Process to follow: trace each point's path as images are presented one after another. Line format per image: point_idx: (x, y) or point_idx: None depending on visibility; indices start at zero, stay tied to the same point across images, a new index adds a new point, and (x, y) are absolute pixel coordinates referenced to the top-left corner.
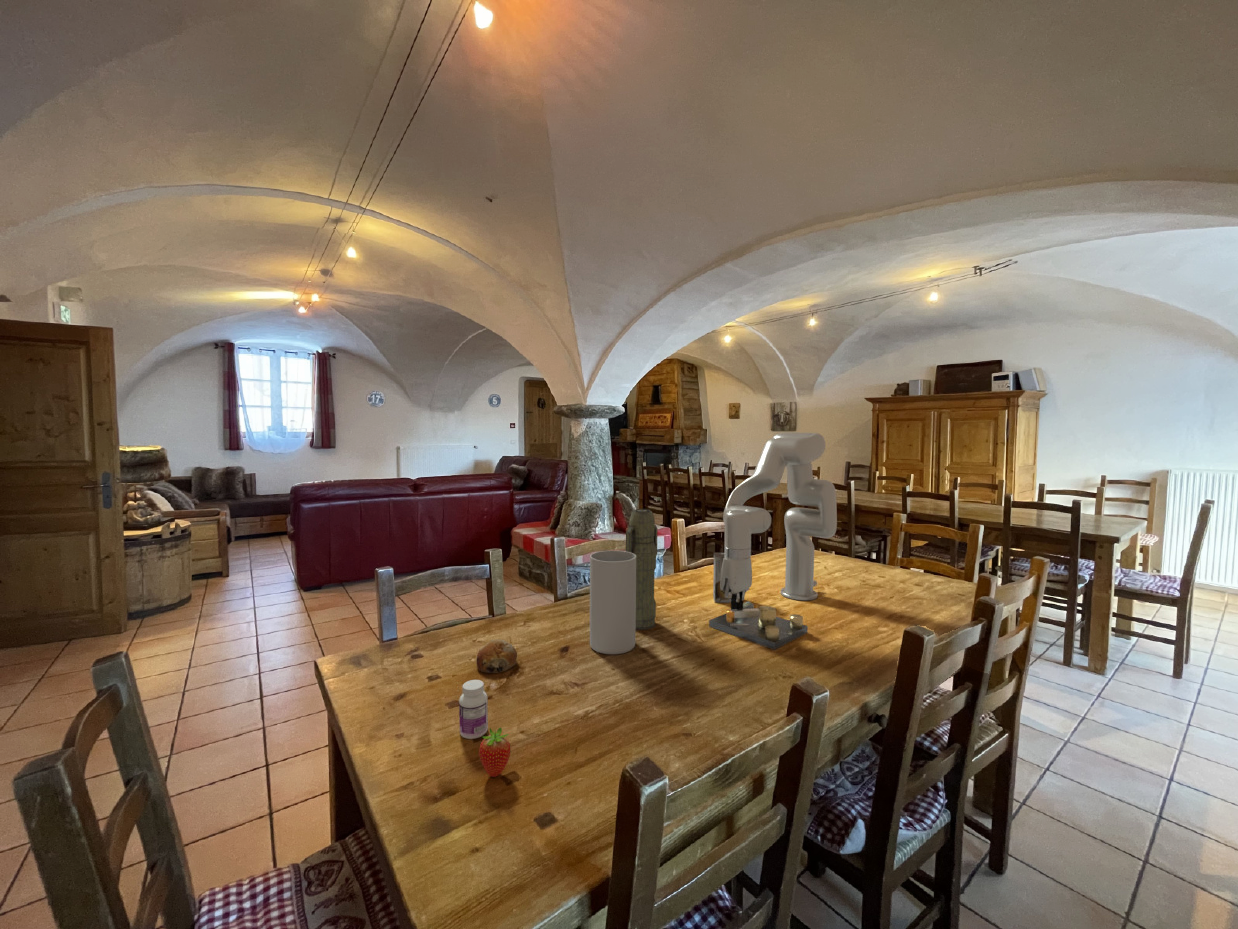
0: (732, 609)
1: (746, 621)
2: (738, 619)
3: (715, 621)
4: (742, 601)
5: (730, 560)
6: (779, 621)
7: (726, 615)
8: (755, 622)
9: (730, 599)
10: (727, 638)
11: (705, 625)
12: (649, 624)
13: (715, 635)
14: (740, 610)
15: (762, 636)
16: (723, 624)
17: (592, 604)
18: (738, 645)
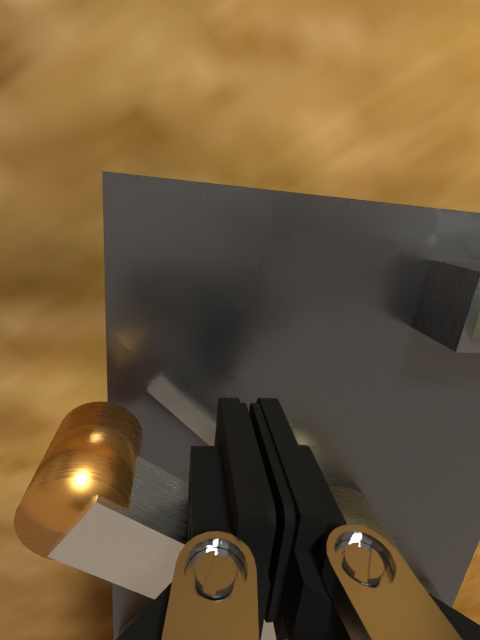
0: (119, 525)
1: (308, 417)
2: (308, 357)
3: (121, 242)
4: (285, 636)
5: None
6: (432, 530)
7: (45, 456)
8: (330, 462)
9: (175, 572)
10: (36, 406)
11: (112, 129)
12: None
13: (3, 320)
14: (164, 586)
15: (141, 601)
16: (115, 337)
17: None
18: (4, 504)
